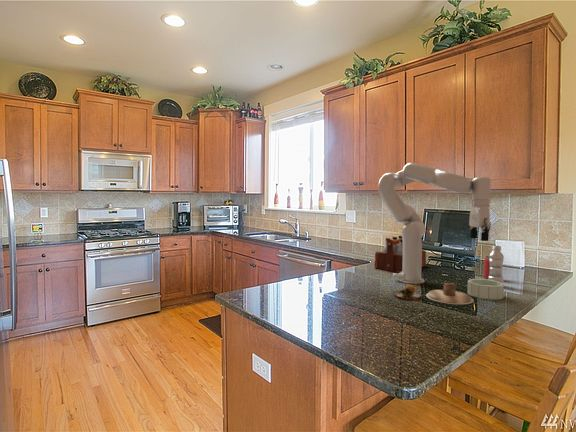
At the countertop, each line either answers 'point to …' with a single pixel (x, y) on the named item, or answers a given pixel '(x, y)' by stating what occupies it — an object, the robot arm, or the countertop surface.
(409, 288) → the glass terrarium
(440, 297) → the lid
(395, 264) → the milk bottle holder
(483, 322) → the countertop surface
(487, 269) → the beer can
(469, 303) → the pad
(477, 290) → the bowl
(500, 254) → the plastic bottle
